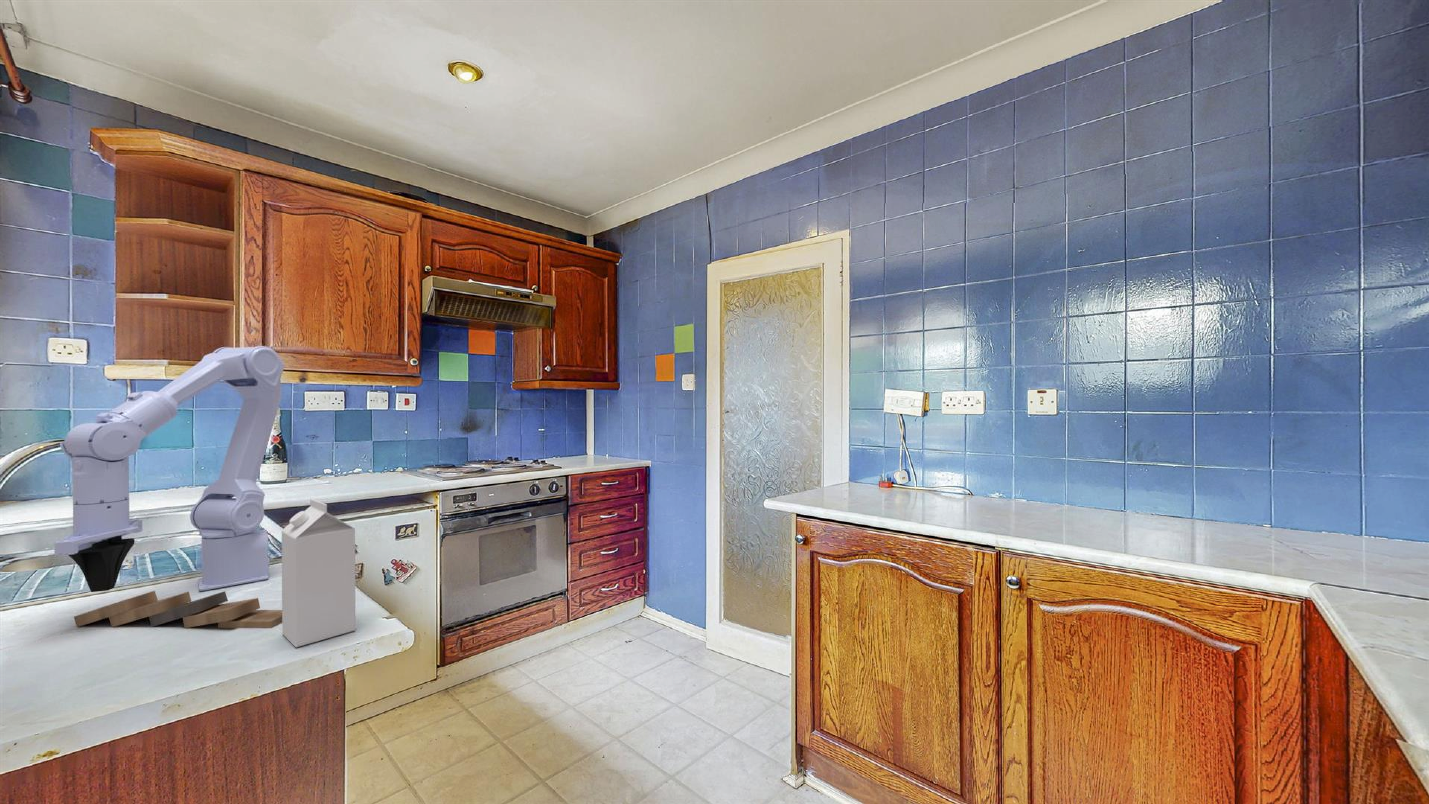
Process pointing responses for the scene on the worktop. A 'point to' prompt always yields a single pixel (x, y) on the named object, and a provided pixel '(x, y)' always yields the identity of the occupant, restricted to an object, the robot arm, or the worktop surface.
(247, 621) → the domino
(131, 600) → the domino
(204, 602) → the ebony domino
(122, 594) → the worktop surface
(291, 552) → the milk carton
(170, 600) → the domino
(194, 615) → the domino
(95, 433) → the robot arm
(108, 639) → the worktop surface
